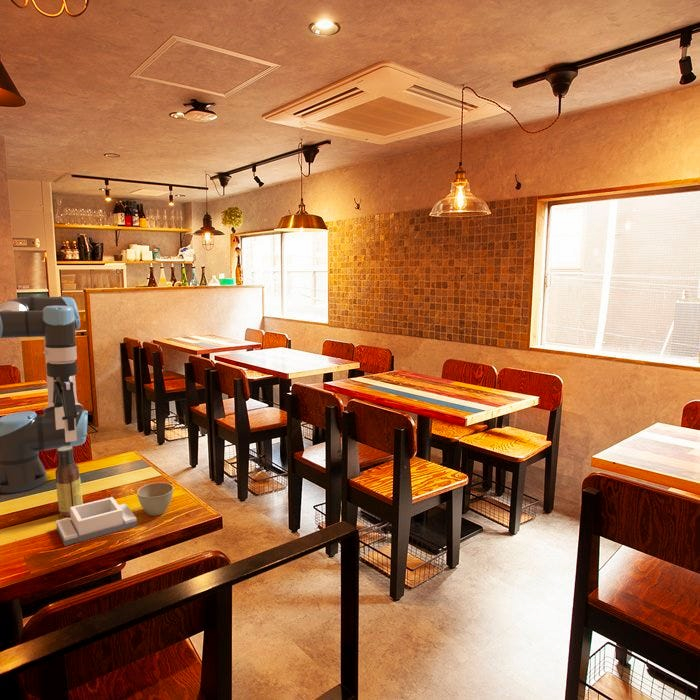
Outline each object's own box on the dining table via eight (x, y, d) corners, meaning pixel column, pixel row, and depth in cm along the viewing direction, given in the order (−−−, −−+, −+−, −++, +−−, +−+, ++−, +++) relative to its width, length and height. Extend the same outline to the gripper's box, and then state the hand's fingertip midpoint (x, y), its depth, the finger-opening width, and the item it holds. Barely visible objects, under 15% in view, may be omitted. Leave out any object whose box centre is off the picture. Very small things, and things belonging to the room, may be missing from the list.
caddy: (56, 528, 141) (55, 509, 140) (125, 510, 152) (124, 493, 151) (64, 546, 133) (63, 526, 132) (137, 525, 144) (136, 507, 143)
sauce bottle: (81, 505, 155) (77, 442, 151) (85, 513, 150) (81, 448, 146) (56, 511, 151) (52, 446, 148) (59, 519, 146) (55, 453, 143)
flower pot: (139, 506, 155) (138, 484, 154) (174, 502, 158) (173, 480, 157) (136, 522, 146) (135, 498, 145) (173, 518, 149) (173, 494, 148)
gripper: (38, 356, 150) (43, 425, 153) (54, 370, 131) (59, 449, 134) (67, 353, 155) (71, 421, 158) (87, 367, 136) (91, 444, 139)
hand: (66, 434), depth 146 cm, fingers open, 13 cm apart
